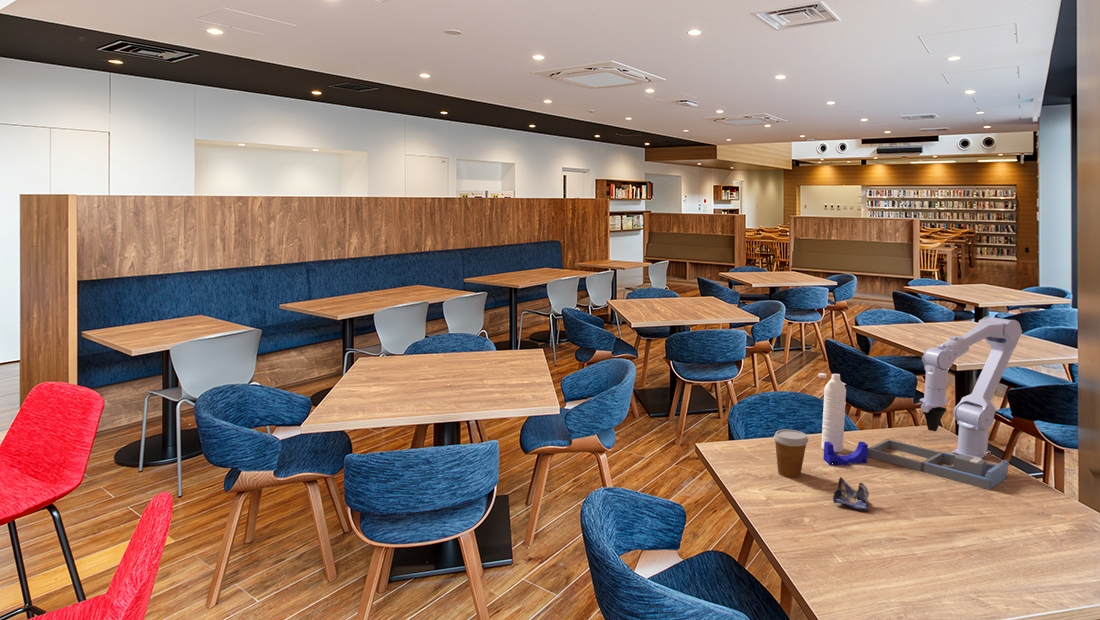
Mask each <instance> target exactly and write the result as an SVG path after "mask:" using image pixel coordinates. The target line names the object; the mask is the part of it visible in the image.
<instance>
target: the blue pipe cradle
mask: <svg viewBox="0 0 1100 620" xmlns="http://www.w3.org/2000/svg"><path fill="white" fill-rule="evenodd" d="M868 448H869V445H868V444H867V443H866V442H864V441H858V444H857V447H856V449H854V451H852V452H851V453H849V454H847V455H842V454H841V455H840V454H838V453H837V452H835V451H834V449H833V444H831V443H830V442H824V450H823V461H824V460H825V461H826V462H827V463H828V464H829V466H850V464H868V457H867V452H868ZM825 461H824V462H825ZM826 462H825V463H826ZM832 463H833V464H832ZM828 464H827V465H828Z"/></svg>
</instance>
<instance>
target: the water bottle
mask: <svg viewBox="0 0 1100 620" xmlns="http://www.w3.org/2000/svg"><path fill="white" fill-rule="evenodd" d="M827 376H828V375H827V374H826V373H822V372H819V373H818V374H817V377H818V378H821V379H826V378H827ZM823 389H824V390H823V394H824V395H823V410H822V411H823V412H822V426H821V427H822V431H821V449H822V450H823V451H824V442H830V443H831V444H833V449H834V451H835V453H841V452H843V451H844V435H845V417H846V402H847V401H846V399H847V398H846V397H847V388H846V386H845V384H844V383H843V382H842V380H841V374H840V373H832V374H831V378H830V380H828V382H827V383H826V384H825V386H824V388H823Z"/></svg>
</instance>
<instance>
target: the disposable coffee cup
mask: <svg viewBox="0 0 1100 620" xmlns="http://www.w3.org/2000/svg"><path fill="white" fill-rule="evenodd" d="M773 440H774V442H775V452H776V453H775V454H776V464H777V473H778V474H779V475H780V476H783V477H786V478H798V477H800V476H801V475H802V469H803V463H804V457H805V453H806V447H807V444H808V442H809V438H808V436H807V434H806V433H804V432H803V431H799V430H797V429H796V430H795V429H779V430H777V431H775V433H774V435H773Z"/></svg>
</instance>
